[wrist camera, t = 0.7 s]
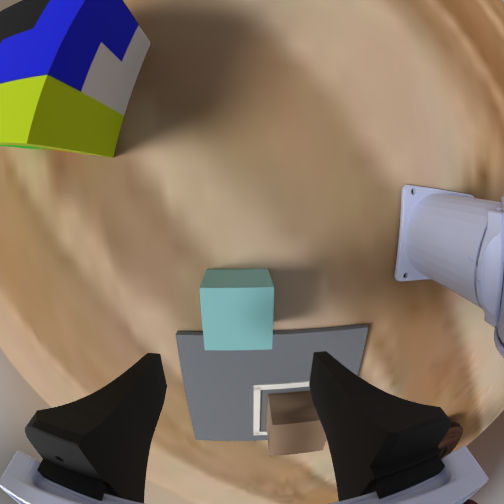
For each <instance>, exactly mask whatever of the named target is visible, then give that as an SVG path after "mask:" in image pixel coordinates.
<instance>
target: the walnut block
mask: <svg viewBox="0 0 504 504" xmlns="http://www.w3.org/2000/svg"><path fill="white" fill-rule="evenodd" d="M266 429H267V437H268V445H269V453H270V456H277V455H289V454H298V453H306V452H313V451H320V450H323V447H324V444H325V441H326V435H325V432H324V429H323V427H322V424H321V422H320V419H319V416H318V414H317V411H316V409H315V406H314V403H313V400H312V396H311V391H300V392H288V393H274V394H268V404H267V423H266Z"/></svg>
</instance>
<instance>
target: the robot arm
mask: <svg viewBox="0 0 504 504" xmlns="http://www.w3.org/2000/svg"><path fill="white" fill-rule="evenodd" d="M412 189H413V194H411V190H412ZM405 273H406V275H405V276H404V277H403V275H404V274H405ZM395 279H396V280H397V281H412V280H425V279H432V280H434V281H436V282H438V283H439V284H441V285H443V286H445V287H447V288H448V289H450V290H452V291H453V292H455V293H457V294H459V295H460V296H462V297H464V298H465V299H467V300H469V301H470V302H472V303H474V304H475V305H477V306H479V307H480V308H482V309H483V310H484V313H485V321H486V322H487V323H489V324H490V325H492V326H493V327H495V331H494V341H495V345H496V347H497V349H498V351H499V353H500V354H501V355H502V356H503V357H504V195H503V196H502V198H501V202H498V201H491V200H485V199H478V198H474V196H473V195H469V194H464V193H458V192H452V191H446V190H440V189H434V188H427V187H420V186H412V185H404V186H403V188H402V198H401V217H400V231H399V242H398V252H397V260H396V268H395ZM309 386H310V391H311V396H312V400H313V403H314V406H315V409H316V411H317V414H318V416H319V419H320V422H321V424H322V427H323V429H324V432H325V435H326V438H327V441H328V444H329V449H330V453H331V457H332V462H333V467H334V472H335V477H336V483H337V490H338V498H339V502H335V503H330V504H463V503H464V502H465V501H466V500H467V499H469V498H470V497H471V496H472V495H473V494H474V493H475V492H476V491H477V490H478V489H480V488H481V487H482V486H483V485H484V484H485V483H486V482H487V481H488V477H487V476H486V474H485V473H484V472H483V470H482V469H481V467H480V466H479V464H478V463H477V461H476V460H475V459H474V457H473V456H472V455H471V453H470V452H469V450H468V449H467V448H466V446H462V447H461V448H459V449H457V450H455V451H453V452H452V453H450V454H448V455H446V456H445V457H444V458H442V459H440V457H439V456H438V455H439V454H440V453H441V451H440V449H439V448H438V445H439V444H440V443H441V441H442V440H443V438H444V437H445V435H446V434H447V432H448V430H449V428H450V424H451V422H450V419H449V418H448V416H447V415H446V414H445V413H444V411H443V410H442V409H441V408H440V407H435V406H429V405H423V404H418V403H415V402H411V401H407V400H404V399H401V398H399V397H396V396H393V395H391V394H389V393H386V392H384V391H382V390H380V389H378V388H376V387H374V386H373V385H371V384H369V383H368V382H366V381H364V380H363V379H361V378H360V377H358V376H357V375H356V374H354V373H353V372H351V371H350V370H349V369H347V368H346V367H345V366H344V365H342V364H341V363H340V362H339V361H338V360H336V359H335V358H334V357H333V356H331V355H330V354H329V353H328V352H326V351H322V352H314V354H313V361H312V368H311V375H310V382H309ZM166 388H167V384H166V380H165V375H164V371H163V366H162V361H161V356H160V354H155V353H147V354H146V355H145V356H144V357H142V358H141V359H140V360H139V361H138V362H137V363H135V364H134V365H133V366H132V367H131V368H129V369H128V370H127V371H126V372H124V373H123V374H122V375H120V376H119V377H118V378H116V379H115V380H114V381H112V382H111V383H109V384H108V385H106V386H105V387H103V388H102V389H100V390H98V391H96V392H94V393H92V394H91V395H88V396H86V397H84V398H82V399H79V400H77V401H74V402H72V403H69V404H65V405H62V406H58V407H54V408H49V409H45V410H38V411H37V412H36V413H35V415H34V416H33V417H32V419H31V420H30V422H29V423H28V424H27V426H26V427H25V433H26V436H27V438H28V439H29V441H30V442H31V444H32V445H33V446H34V448H35V449H36V450H37V452H38V453H39V454H40V455H41V457H42V458H43V460H42V462H41V463H40V462H39V461H37V460H36V459H34V458H33V457H30V456H29V455H27V454H25V453H23V452H22V451H20V450H18V451H17V452H16V453H15V455H14V457H13V458H12V460H11V462H10V463H9V465H8V467H7V468H6V470H5V472H4V473H3V475H2V477H1V479H0V487H1V488H2V489H3V490H4V491H5V492H6V493H7V494H8V495H10V496H11V497H12V498H13V499H14V500H15V501H17V502H18V503H19V504H144V489H145V478H146V469H147V462H148V456H149V450H150V444H151V441H152V437H153V434H154V431H155V428H156V425H157V422H158V419H159V416H160V413H161V410H162V407H163V404H164V399H165V394H166Z"/></svg>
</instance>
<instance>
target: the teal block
mask: <svg viewBox="0 0 504 504" xmlns="http://www.w3.org/2000/svg"><path fill="white" fill-rule="evenodd" d="M200 300H201V314H202V326H203V337H204V348H205V350H268V349H272V339H273V311H274V285H273V282H272V279H271V277H270V274H269V271H268V269H207V270H206V272H205V275H204V278H203V280H202V283H201V286H200Z"/></svg>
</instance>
